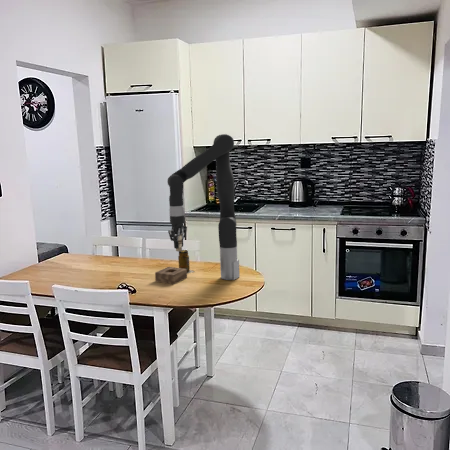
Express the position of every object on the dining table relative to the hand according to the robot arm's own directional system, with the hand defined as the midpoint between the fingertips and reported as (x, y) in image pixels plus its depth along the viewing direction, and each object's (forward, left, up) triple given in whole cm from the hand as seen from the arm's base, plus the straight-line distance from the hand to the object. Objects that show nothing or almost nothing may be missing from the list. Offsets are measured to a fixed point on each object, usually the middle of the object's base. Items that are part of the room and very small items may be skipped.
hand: (178, 247), depth 220 cm
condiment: (+10, -19, -20) cm, 29 cm away
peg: (0, 0, -2) cm, 2 cm away
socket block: (+8, -3, -19) cm, 21 cm away
